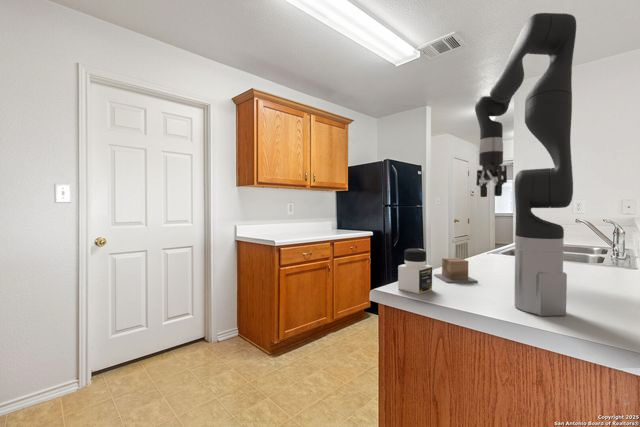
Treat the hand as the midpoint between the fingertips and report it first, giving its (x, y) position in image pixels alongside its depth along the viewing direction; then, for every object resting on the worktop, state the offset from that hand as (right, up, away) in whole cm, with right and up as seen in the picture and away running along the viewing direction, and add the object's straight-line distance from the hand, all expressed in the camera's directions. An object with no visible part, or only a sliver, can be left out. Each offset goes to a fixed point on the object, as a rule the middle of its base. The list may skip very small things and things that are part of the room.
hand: (490, 196), depth 109 cm
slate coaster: (-17, -28, -8) cm, 34 cm away
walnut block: (-17, -28, -8) cm, 33 cm away
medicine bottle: (-34, -29, -21) cm, 49 cm away
